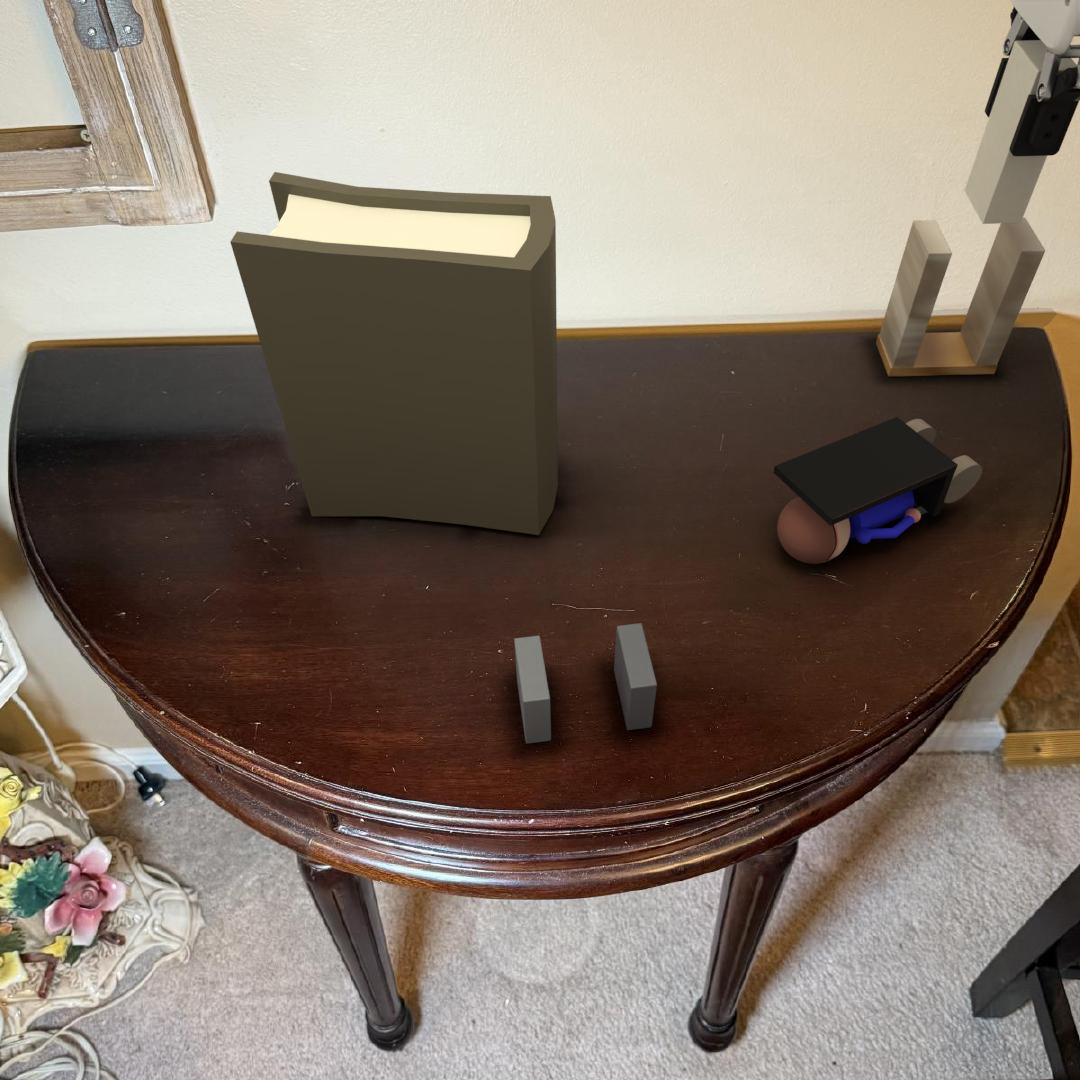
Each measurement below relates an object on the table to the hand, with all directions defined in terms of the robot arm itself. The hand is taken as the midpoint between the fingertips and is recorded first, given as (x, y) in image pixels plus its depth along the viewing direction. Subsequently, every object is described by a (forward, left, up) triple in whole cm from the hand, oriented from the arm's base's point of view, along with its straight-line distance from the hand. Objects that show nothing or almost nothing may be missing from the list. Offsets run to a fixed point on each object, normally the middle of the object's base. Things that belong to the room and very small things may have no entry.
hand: (1020, 131), depth 68 cm
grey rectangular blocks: (+16, +43, -21) cm, 50 cm away
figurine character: (+3, +21, -21) cm, 29 cm away
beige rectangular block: (0, 0, -6) cm, 6 cm away
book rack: (0, -1, -21) cm, 21 cm away
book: (+33, +29, -21) cm, 49 cm away
